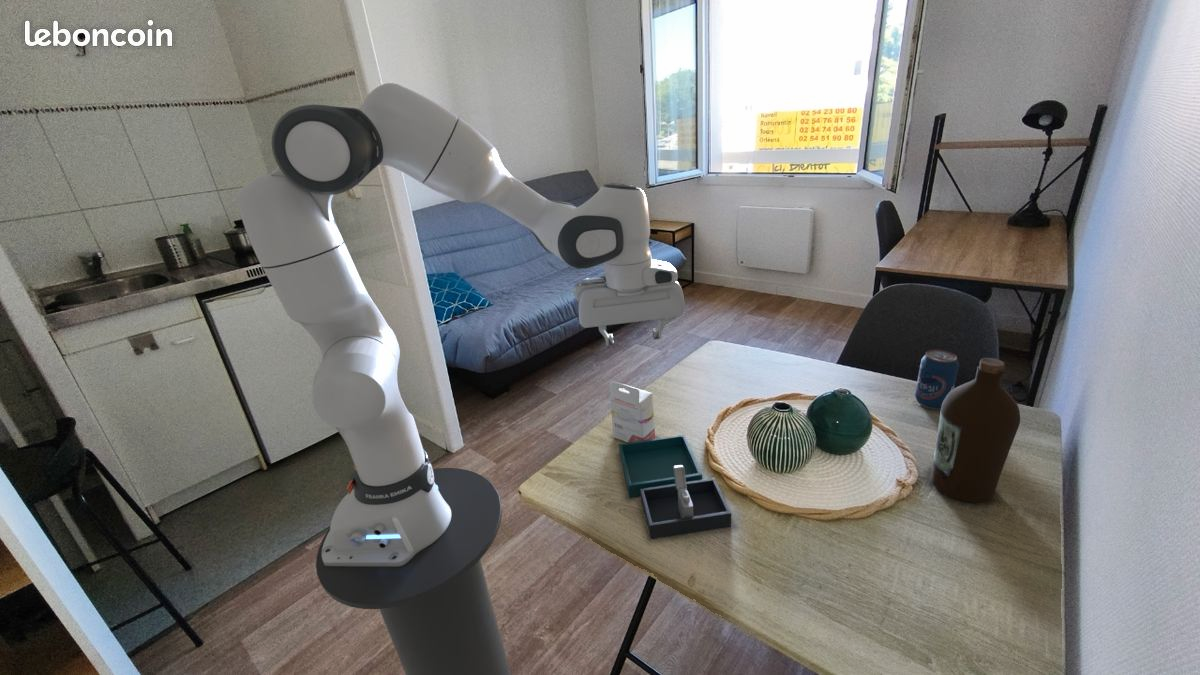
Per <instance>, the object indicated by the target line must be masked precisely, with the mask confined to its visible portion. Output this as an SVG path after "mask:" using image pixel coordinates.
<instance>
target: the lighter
mask: <svg viewBox="0 0 1200 675" xmlns="http://www.w3.org/2000/svg"><path fill="white" fill-rule="evenodd" d="M673 470H674V478H675V485H676V489H677V490H678V510H679V513H680V516H681V519H682V518H688V517H693V504H692V501H691V498H690V496H689V493H688V491H687V490H686V489H687V485H686V478H685V470H684V467H683V466H682V465H678V466H674V467H673Z"/></svg>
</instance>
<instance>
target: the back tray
mask: <svg viewBox="0 0 1200 675" xmlns="http://www.w3.org/2000/svg"><path fill="white" fill-rule="evenodd" d="M618 453H619V459H620V463H621V468H622V472H623V477H624V481H625V485H626V486H625V487H626V490H627V495H628V498H629V499H636V498H641V496H640V489H644V488H651V487H658V486H665V485H671V484H675V478H674V470H673V467H674V466H678V465H682V466H683V467H684V470H685V478H686V482H692V481H698V480H703V473H702V471H701V469H700V466H699V465H698V462H697V459H696V458H695V454H694V453H693V451H692V449H691V447H690V444H689V442H688V440H687V437H686V435H685V434H679V435H673V436H665V437H659V438H655V439H650V440H643V441H636V442H630V443H628V442H624V443H623V442H622V443H618Z"/></svg>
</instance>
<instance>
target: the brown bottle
mask: <svg viewBox="0 0 1200 675" xmlns="http://www.w3.org/2000/svg"><path fill="white" fill-rule="evenodd" d="M1005 366H1006V364H1005V362H1004V361H1002V360H1000V359H998V358H992V357H983V358H981V359H980V360H979V365H978V366H977V367H976V373H975V378H973V379H972V380H970V381H967V382H965V383H962V384H961V385H959V386H956V387H954V389H953V390H952V391H950V392H949V393H948V395H947V396H946V398H945V399H944V401H943V403H942V406H941V409H940V413H939V418H938V427H937V434H936V439H935V445H934V446H935V447H934V453H933V460H932V465H931V471H930V481H931V483H932V484H933V486H934V487H935V488H936V489H937V490H938V491H940V492H941V493H942V494H944V495H945V496H948V497H950V498H953V499H955V500H957V501H961V502H965V503H973V504H975V503H976V504H977V503H984V502H988V501H989V500H991V499H992V498H993V497H994V495H995V493H996V489H997V485H998V484H999V481H1000V479H1001V475H1002V472H1003V469H1004V466H1005V464H1006V461H1007V458H1008V455H1009V453H1010V450H1011V448H1012V445H1013V442H1014V439H1015V438H1016V435H1017V432H1018V430H1019V428H1020V424H1021V413H1020V412H1021V411H1020V408H1019V405H1018V403H1017V401H1016V400H1015V399H1014V397H1012V395H1011V394H1010V393H1009V392H1008V391H1007V390H1006V389H1005V388H1004V386H1002V384H1001V383H1002V379H1003V376H1004V373H1005V372H1004V369H1005Z"/></svg>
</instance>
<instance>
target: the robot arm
mask: <svg viewBox="0 0 1200 675" xmlns="http://www.w3.org/2000/svg"><path fill="white" fill-rule="evenodd" d="M272 130H273V131H272V134H271V151H272V154H273V158H274V160H275V162H276V164H277V167H276V168H275V169H274V170H272V171H271V172H267V173H265V174H261V175H258V176H256V177H254V178H252V179H251V180H249V181H248V182H246V183H245V184H244V185H243V186H242V187H241V188H240V190H239V191H238V195H237V200H236V202H237V206H238V211H239V214H240V217H241V221H242V224H243V227H244V229H245V232H246V235H247V238H248V240H249V243H250V245H251V247H252V249H253V251H254V254H255V256H256V258H257V260H258V262H259V264H260V266H261V267H262V268H261V269H262V270H263V271H264V274H265V275H266V277H267V279H268V280H269V282H270V284H271V286H272V288H273V290H274V292H275V294H276V296H277V298H278V299H279V301H280V303H281V305H282V307H283V309H284V311H285V313H286V315H287V316H288V317H289V319H291V320H293V321H294V322H296V323H298V324H300V325H301V326H302V327H303V328H304V329H305V330H306V332H307V333H308V334H309V335H310V336H311V337H312V339H313V340H314V341H315V342H316V343H317V346H318V347H319V350H320V352H321V359H322V360H321V362H320V364H319V366H318V367H317V370H316V371H315V373H314V376H313V381H312V405H313V408H314V410H315V413H316V414H317V416H318V417H319V418H320V419H321V420H322V421H324V423H326V424H328V425H329V426H332V427H334V428H335V429H336V430H337V432H338V433H339V435H340V436H341V437H342V439H343V441H344V443H345V444H346V446H347V450H348V451H349V452H348V453H349V454H350V458H351V459H352V462H353V469H354V471H353V472H352V474H351V476H350V478H349V483H348V485H347V487H346V491H348V493H346V495H344V497H343V498H341V501H340V502H339V503H338V505H337V506H336V508H335V510H334V513H333V514H332V518H331V521H330V527H329V528H330V531H329V533H328V535H327V537H326V539H325V541H324V544H323V548H322V560H323V563H324V565H325V566H375V567H399V566H403V565H404V564H406V563H407V562H408V561H409V560H410V559H411V558H412V557H413V556H414V555H415V554H416V553H418V552H419V551H421V550H422V549H424V548H426V547H427V546H429V545H431V544H432V543H433V542H435V541H436V540H437V539H438V538H439V537H440V536H441V535H442V534H443V533H444V532H445V530H446V529H447V527H448V525H449V523H450V521H451V509H450V507H449V505H448V504H447V503H446V502H445V500H444V499H443V498H442V496H441V494H440V492H439V491H438V486H437V485H436V484H435V482H434V473H433V469H434V468H433V466H432V463H431V462H430V461H431V460H430V459H429V458H430V457H429V455H428V453H427V451H426V450H425V449H424V447H423V444H422V441H421V440H422V439H421V437H420V434H419V430H418V427H417V423H416V420H415V417H414V416H413V414H412V413H410V411H409V410H408V408H407V406H406V404H405V402H404V400H403V397H402V395H401V392H400V389H399V383H398V368H399V363H400V358H401V350H400V345H399V341H398V339H397V336H396V334H395V332H394V330H393V329H392V328H391V326H389V324H388V322H387V320H386V319H385V317H384V316H383V314H382V313H381V311H380V310H379V307H378V306H377V305H376V304H375V302H374V301H373V299H372V297H371V296H370V294H369V293H368V290H367V288H366V286H365V285H364V283H363V281H362V278H361V276H360V273H359V272H358V269H357V268H356V265H355V262H354V260H353V258H352V256H351V254H350V251H349V250H348V247H347V245H346V243H345V241H344V239H343V236H342V234H341V232H340V229H339V228H338V225H337V223H336V221H335V217H334V214H333V211H332V200H333V198H334V196H336V195H340V194H344V193H346V192H348V191H350V190H352V189H353V188H355V187H356V186H358V185H359V184H360V183H361V182H362V181H363V180H364V179H365V178H366V177H367V176H368V175H369V174H370V173H371V172H372V171H373V170H375V169H376V168H377V167H378V166H388V167H391V168H393V169H395V170H397V171H400V172H402V173H404V174H406V175H407V176H409V177H411V178H412V179H414V180H415V181H417V182H419V183H421V184H422V185H424V186H426V187H428V188H429V189H431V190H433V191H435V192H436V193H439V194H441V195H443V196H446V197H449V198H451V199H454V200H456V201H459V202H461V203H465V204H483V205H486V206H489V207H491V208H494V209H496V210H497V211H499V212H501V213H503V214H504V215H506V216H507V217H509V218H511V219H513V220H514V221H516V222H517V223H519V224H520V225H523V226H524V227H525V228H526V229H528V230H529V231H530V232H531V233H532V235H533V236H534V238H535V239H536V241H537V242H538V243H539V245H540V246H541V248H543V249H544V250H545V251H546V252H548V253H549V254H551V255H554V256H555V257H557V258H558V259H559V260H560V261H562V262H563V263H565V264H567V265H568V266H570V267H572V268H575V269H580V270H583V269H584V270H585V269H590V268H594V267H596V266H598V265H602V264H603V272H604V275H603V276H596V277H592V278H582V279H580V281H578V282H576V283H575V285H574V287H573V295H574V296H573V297H574V299H575V301H576V302H578V322H579V325H580V326H581V327H582V328H584V329H589V328H596V327H598V332H599V333H600V334H601V335H602V336H603V338H604V340H605V346H606V347H607V346H614V345H615V344H614V336H613V333H608V332H607V326H612V325H613V326H614V325H621V324H629V323H636V322H638V323H639V322H645V321H653V320H657V321H658V324H657V325H656V327H655V328H652V329H651V330H652V331H651V332H652V338H653V340H662V338H663V336H662V332H663V330H664V329H665V326H666V325H667V323H668V322H667V319H670V318H677V317H678V318H680V317H681V316H683V315H684V313H685V311H686V305H685V304H686V303H685V297H684V296H685V295H684V292H683V288H682V286H681V285H680V283H679V281H678V279H679V274H678V271H677V269H676V267H675V266H673V265H672V264H671V263H670V262H667V261H662V260H657V259H653V258H652V257H653V256H652V251H651V249H650V244H649V243H650V242H649V241H650V236H651V222H650V212H649V204H648V200H647V197H646V194H645V192H644V190H642V188H640V187H639V186H636V185H633V184H625V183H614V182H612V183H611V182H610V183H605V184H602V185H600V188H599V189H598V191H597V192H595V194H593V196H591V197H590V198H589V199H588V200H586V201H585V202H584V203H582V204H580V205H579V206H576V205H574V204H572V203H571V202H566V201H561V200H560V201H559V200H552V199H549V198H546V197H544V196H543V195H541V194H539V193H538V192H537V191H535V190H534V189H532V187H530V186H527V184H525V183H524V182H522V181H520V180H519V179H517V177H514V176H513V175H512V174H511V173H510V172H509V171H508V170H507V168H506V167H505V166H504V165H503V162H502V161H501V158H500V156H499V153H498V150H497V148H495V146H494V145H493V144H492V143H491V142H490V141H489V140H488V139H487V138H486V137H484V135H482V133H481V132H479V131H478V130H477V129H475V128H474V127H473V126H472V125H470V124H469V123H468V122H467V121H466V120H463V119H462V118H461V117H459V116H458V115H456V114H455V113H453V112H452V111H450V110H449V109H448V108H445V107H444V106H442V105H441V104H439V103H438V102H435V101H434V100H431V99H430V98H428V97H426V96H424V95H422V94H420V93H418V92H416V91H414V90H412V89H411V88H408V87H405V86H403V85H401V84H398V83H394V82H390V83H389V82H387V83H383V84H381V85H379V86H377V87H375V88H374V89H373V90H371V91H370V92H369V93H368V95H367V96H365V98H364V100H363V102H362V103H361V105H360V106H359V108H357V107H356V108H355V107H347V106H346V107H344V106H335V105H327V104H324V105H323V104H304V105H299V106H297V107H293V108H292V109H290V110H288V111H286V112H285V113H284V114H282V115H281V117H280V118H279V119H278V120H277V122H276V124H275V125H274V127H273V129H272Z"/></svg>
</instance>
